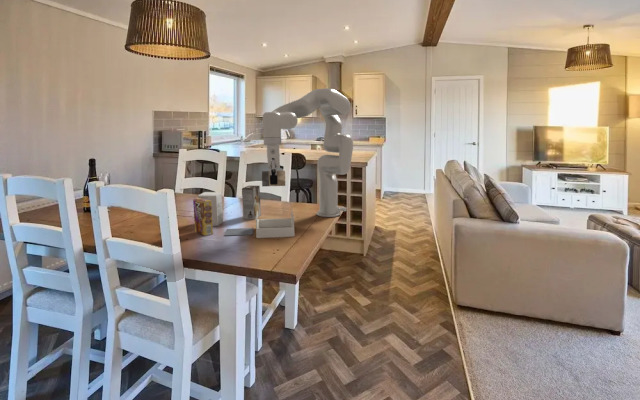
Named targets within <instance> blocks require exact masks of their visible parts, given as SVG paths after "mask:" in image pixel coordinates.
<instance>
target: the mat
mask: <svg viewBox="0 0 640 400" xmlns="http://www.w3.org/2000/svg"><path fill="white" fill-rule="evenodd" d="M253 233H254V227H246V228H245V227H242V228H226V230H225V232H224V237H233V236H234V237H235V236H237V237H238V236H240V237H241V236H253Z"/></svg>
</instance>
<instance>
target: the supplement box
mask: <svg viewBox="0 0 640 400" xmlns="http://www.w3.org/2000/svg"><path fill="white" fill-rule="evenodd" d="M197 198H202V199H207V200H211V203H212V226H213V227H218V226H219V225H221V224H222V223H223V222H224V213H223V212H224V211H223V210H224V209H223V192H220V191H219V192H218V191H203V192H202V193H199V194H198V196H197Z"/></svg>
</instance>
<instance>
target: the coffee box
mask: <svg viewBox="0 0 640 400" xmlns="http://www.w3.org/2000/svg"><path fill="white" fill-rule="evenodd" d="M260 187H261V186H260V185H247V186H244V187H243V188H241V197H242V218H243V219H244V220H255V221H256V215H257V211H258V218H259V217H260V216H262V213H261V209H262V208H261V188H260Z"/></svg>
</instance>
